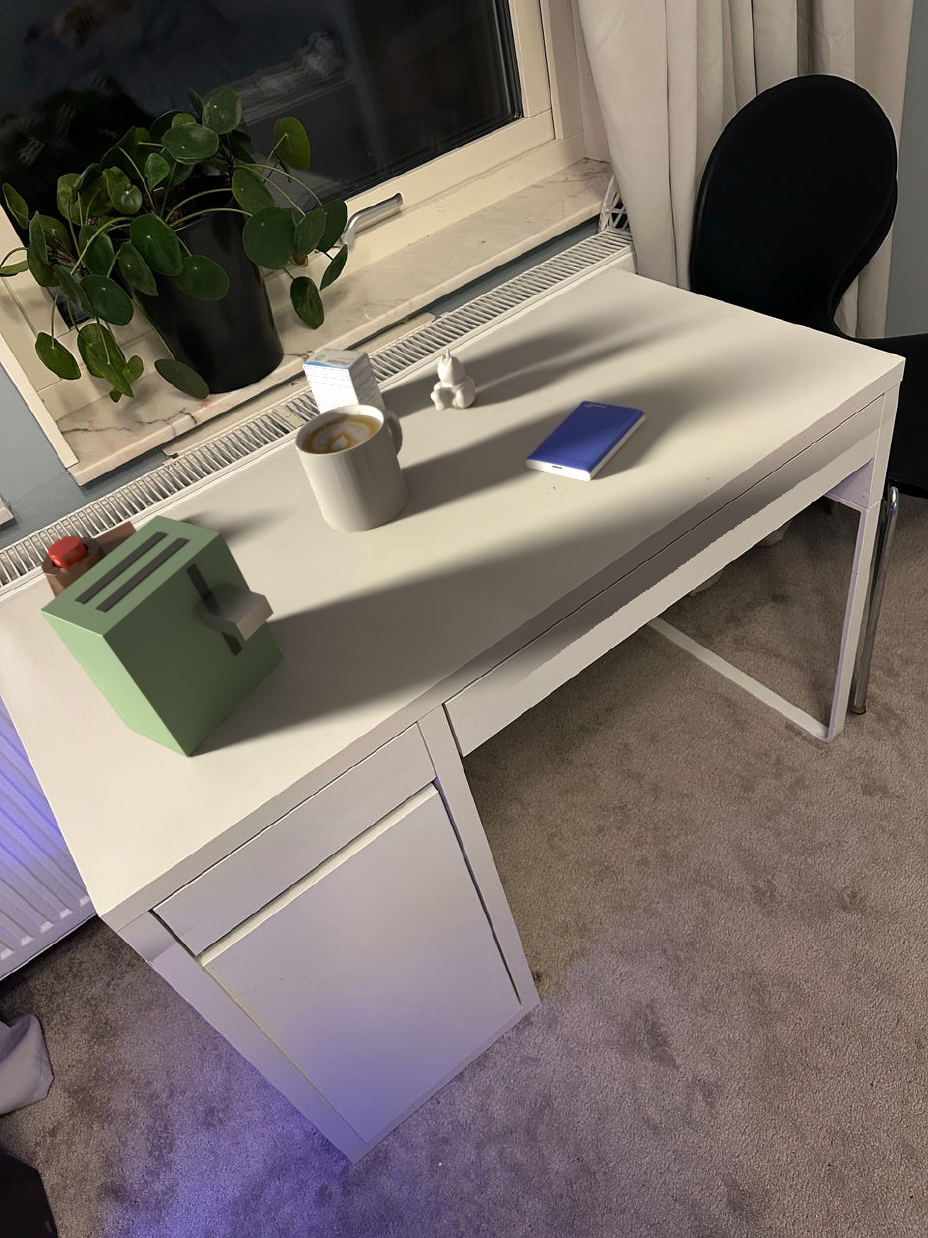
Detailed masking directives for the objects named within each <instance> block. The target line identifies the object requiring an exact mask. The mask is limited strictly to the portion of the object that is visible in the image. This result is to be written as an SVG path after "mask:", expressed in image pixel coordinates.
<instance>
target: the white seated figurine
mask: <svg viewBox="0 0 928 1238" xmlns="http://www.w3.org/2000/svg"><path fill="white" fill-rule="evenodd" d="M465 373H466V370H465V364H464V363H463V362H461V361H460V360H459V359H458V357H456V356H453V355H451V352H450V349H449V348H446V354H442V355H441V356H440V360H439V362H438V363H437V374H438V377H439V381H438V382H437V383H436V384H435V385H434V386H433V391H432V392H431V393H430V397H431V399H432V401H433V402H434V404H435V410H436V411H440V412H442V411H445V410H453V411H462V410H464V409H466V408H468V407H469V406H471V405H472V404H473V402H474V401H475V399H476V387H475V386H476V385H475V383H474V382H475V381H474V380H473V378H472V377H470V376H468V375H465Z"/></svg>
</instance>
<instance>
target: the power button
mask: <svg viewBox="0 0 928 1238" xmlns="http://www.w3.org/2000/svg"><path fill="white" fill-rule="evenodd" d="M79 538H80V537H78V536H77V535H68V536H64V537H62V538H59V539H58V540H56V541H55V542H53V543H52V544H51V545H50V547H49V548H48V549H47V555H48V554H49V556H50V557H51V559H52V560H53V562H54V563H55V564H56V566H57V567H59V568H63V567H67V566H70V565H72V564H74V563H76V562H78V561H80V560H81V559H82V558H83V557H84V556H85V555H86V554H87V549H86V548H85V546H84V545H83V543H82V542H81V540H80V539H79Z"/></svg>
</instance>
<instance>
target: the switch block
mask: <svg viewBox="0 0 928 1238" xmlns="http://www.w3.org/2000/svg"><path fill="white" fill-rule="evenodd" d="M137 531H138V530H137V529H136V527H135V526H134V525H133V523H132V522H131V520H128V521H126V522H124V523H121V524H120V525H117V526H116V527H114V528H112V529H110V530H108V531H106V532H104V533H102V534H100V535H98V536H96V537H89V536H81V537H78V538H79V539H80V540H81V542H82V543H83V545H84V546H85V548H86V549H87V554H86V555H85V556H84V557H83V558H82V559H81V560H80V561H78V562H76V563H74V564H72V565H70V566H67V567H63V568H59V567H57V566H56V564H55V563H54V562H53V560H52V559H51V557H50V556H49V554H48V553H47V555H45V557H44V559H43V561H42V563H41V565H40V568H41V570H42V573H43V574H44V576H45V578H46V580H47V582H48V584H49V586H50V589H51V591H52V594H53V596H54V598H56V597H57V596H58V595H59V594H61V593H62V592H63V591H64V590H66V589H67V588H68V587H69V586H70V585H72V584H73V583H74V582H75V581H77V580H78V579H79V578H80V577H82V576H83V575H84V574H85V573H86V572H88V571H89V570H90V569H91V568H93V567H94V566H95V565H96V564H98V563H99V562H100V561H101V560H102V559H104V558H105V557H106V556H107V555H109V554H110V553H111V552H112V551H114V550H115V549H116V548H117V547H118V546H120V545H121V544H122V543H123V542H125V541H126V540H127V539H128V538H130V537H131V536H132V535H133V534H134V533H136V532H137Z"/></svg>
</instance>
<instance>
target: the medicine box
mask: <svg viewBox="0 0 928 1238" xmlns="http://www.w3.org/2000/svg"><path fill="white" fill-rule="evenodd" d="M302 367H303V370H304V373H305V375H306V378H307V381H308V384H309V386H310V389H311V392H312V395H313V397H314V400H315V403H316V405H317V408H318V410H319V413H320V414H321V413H324V412H326V411H329V410H331V409H334V408H338V407H342V406H347V405H356V404H360V405H370V406H373V407H376V408H378V409H379V410H382V409H384V410H387V408H386V406H385V403H384V399H383V397H382V393H381V391H380V388H379V384H378V381H377V378H376V374H375V372H374V368H373V366H372V362H371V360H370V357H369V353H367V352H365V351H357V350H348V349H347V350H346V349H335V348H325V347H324V348H323V347H322V348H321V349H319V350H318V351H317V352H315V353H314V354H312V355H311V356H310V357H309V358H308V359H307V360H306V361H305V362H304V363H302Z"/></svg>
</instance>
